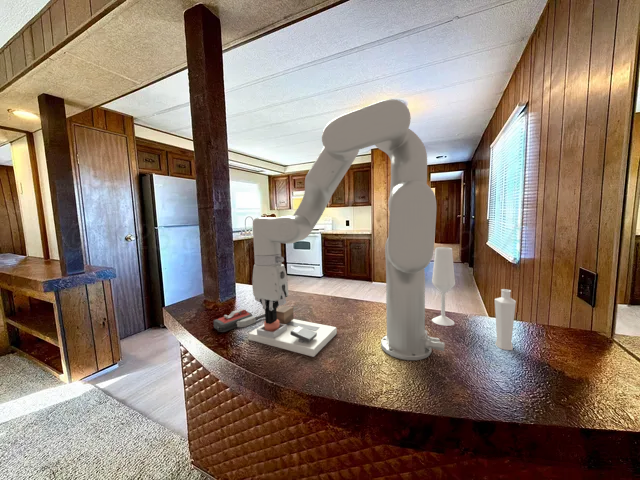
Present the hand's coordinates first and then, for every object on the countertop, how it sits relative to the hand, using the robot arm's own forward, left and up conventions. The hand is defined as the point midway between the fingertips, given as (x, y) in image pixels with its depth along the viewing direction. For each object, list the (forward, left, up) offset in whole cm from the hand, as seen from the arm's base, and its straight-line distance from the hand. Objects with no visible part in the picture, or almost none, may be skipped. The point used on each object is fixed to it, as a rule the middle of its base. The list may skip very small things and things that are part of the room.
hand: (271, 321), depth 74 cm
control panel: (-5, -4, -5) cm, 8 cm away
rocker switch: (-11, 0, -2) cm, 11 cm away
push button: (0, 0, -2) cm, 2 cm away
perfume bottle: (-59, -22, -5) cm, 63 cm away
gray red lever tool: (+17, -6, -6) cm, 19 cm away
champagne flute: (-44, -33, -5) cm, 55 cm away
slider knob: (+1, -7, -3) cm, 7 cm away
